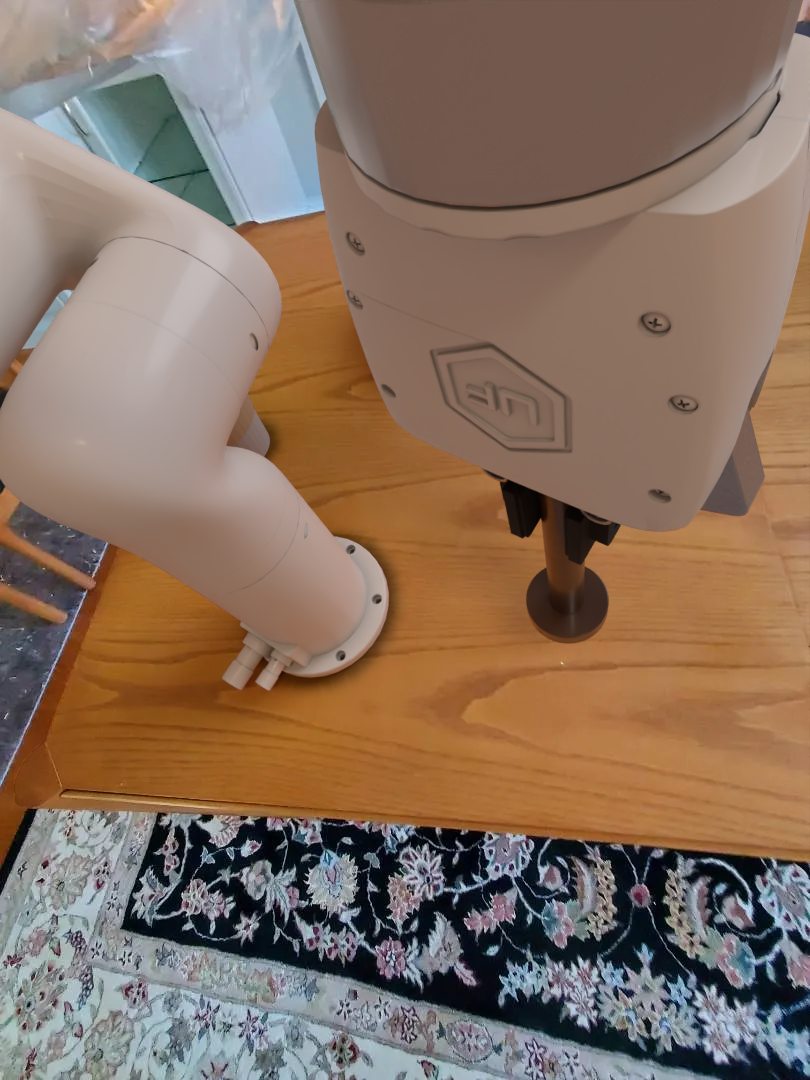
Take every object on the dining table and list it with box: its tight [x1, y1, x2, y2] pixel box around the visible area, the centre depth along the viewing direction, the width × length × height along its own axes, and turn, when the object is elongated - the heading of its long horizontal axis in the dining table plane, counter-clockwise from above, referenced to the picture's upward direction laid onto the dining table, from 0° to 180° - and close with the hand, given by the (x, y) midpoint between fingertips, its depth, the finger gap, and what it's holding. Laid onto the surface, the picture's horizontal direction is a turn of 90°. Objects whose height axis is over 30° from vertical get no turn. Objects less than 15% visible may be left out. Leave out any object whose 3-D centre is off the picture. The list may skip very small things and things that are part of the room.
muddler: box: [525, 492, 610, 645], centre depth 28 cm, size 4×4×16 cm
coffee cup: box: [226, 393, 271, 457], centre depth 58 cm, size 9×9×15 cm
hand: (563, 519), depth 26 cm, fingers closed on muddler
